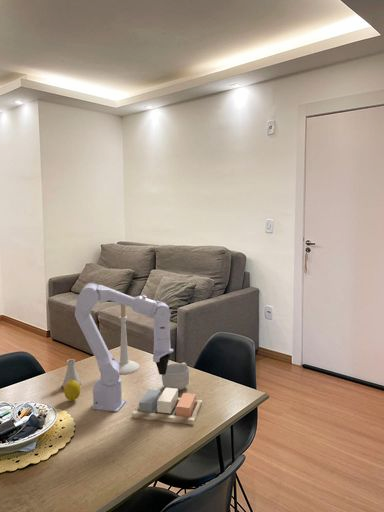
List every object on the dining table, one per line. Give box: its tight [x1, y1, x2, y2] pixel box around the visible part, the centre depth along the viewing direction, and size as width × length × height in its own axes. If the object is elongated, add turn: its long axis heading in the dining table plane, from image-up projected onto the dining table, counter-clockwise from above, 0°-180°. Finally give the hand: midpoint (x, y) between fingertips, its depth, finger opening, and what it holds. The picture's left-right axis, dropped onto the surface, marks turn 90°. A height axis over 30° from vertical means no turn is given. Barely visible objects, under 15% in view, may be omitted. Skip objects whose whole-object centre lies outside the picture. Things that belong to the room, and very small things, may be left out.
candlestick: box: [117, 303, 140, 375], centre depth 175 cm, size 13×13×30 cm
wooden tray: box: [131, 397, 203, 426], centre depth 141 cm, size 21×14×2 cm, turn 77°
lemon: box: [64, 380, 81, 402], centre depth 147 cm, size 6×6×8 cm
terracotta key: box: [175, 392, 197, 417], centre depth 139 cm, size 4×10×4 cm, turn 167°
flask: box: [62, 358, 82, 389], centre depth 160 cm, size 7×7×10 cm
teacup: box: [161, 362, 190, 392], centre depth 159 cm, size 14×11×8 cm
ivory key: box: [157, 387, 179, 414], centre depth 140 cm, size 4×10×4 cm, turn 167°
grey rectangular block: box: [138, 388, 161, 413], centre depth 142 cm, size 4×10×4 cm, turn 167°
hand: (162, 373), depth 146 cm, fingers closed
